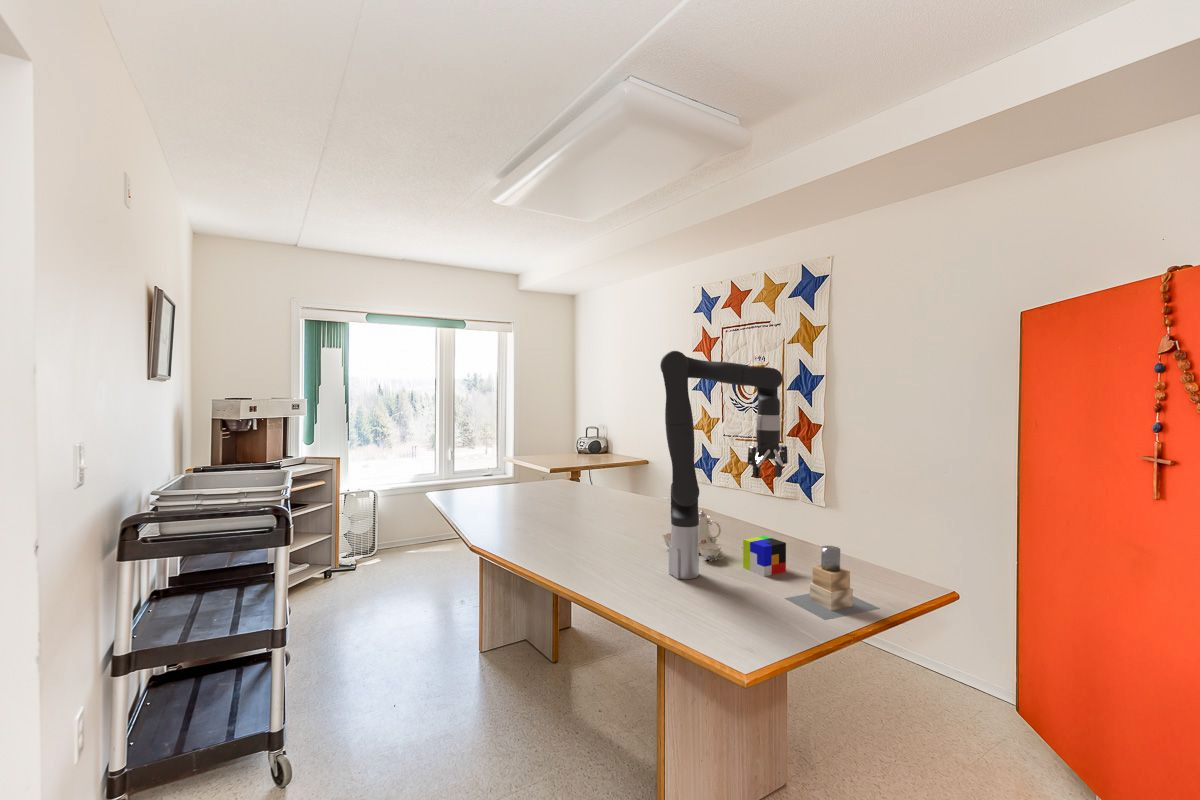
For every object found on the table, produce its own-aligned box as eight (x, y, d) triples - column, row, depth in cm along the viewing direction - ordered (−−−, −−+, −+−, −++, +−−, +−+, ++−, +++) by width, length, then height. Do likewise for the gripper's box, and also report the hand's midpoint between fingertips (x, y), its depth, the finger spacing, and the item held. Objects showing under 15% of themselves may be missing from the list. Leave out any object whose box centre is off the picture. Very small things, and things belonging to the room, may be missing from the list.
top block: (830, 592, 150) (831, 574, 150) (812, 583, 157) (812, 566, 156) (849, 588, 153) (850, 571, 152) (831, 580, 159) (831, 563, 159)
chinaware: (655, 553, 209) (652, 512, 207) (680, 540, 221) (678, 501, 219) (717, 570, 189) (714, 525, 188) (741, 555, 201) (739, 512, 200)
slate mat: (825, 622, 144) (825, 619, 144) (784, 600, 158) (784, 598, 158) (880, 610, 151) (880, 608, 151) (836, 590, 166) (836, 588, 166)
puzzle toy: (764, 576, 178) (764, 546, 178) (743, 567, 187) (743, 539, 187) (785, 571, 183) (786, 542, 183) (764, 563, 192) (764, 535, 192)
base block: (831, 610, 150) (831, 592, 149) (810, 600, 157) (810, 583, 157) (852, 606, 152) (852, 588, 152) (831, 596, 160) (831, 579, 160)
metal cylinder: (830, 572, 151) (830, 551, 151) (817, 567, 156) (817, 546, 156) (844, 570, 153) (844, 549, 153) (830, 565, 158) (830, 544, 158)
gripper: (757, 429, 171) (756, 480, 171) (793, 429, 176) (792, 478, 176) (743, 428, 178) (742, 476, 178) (778, 427, 183) (777, 474, 183)
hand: (767, 477), depth 177 cm, fingers open, 8 cm apart
